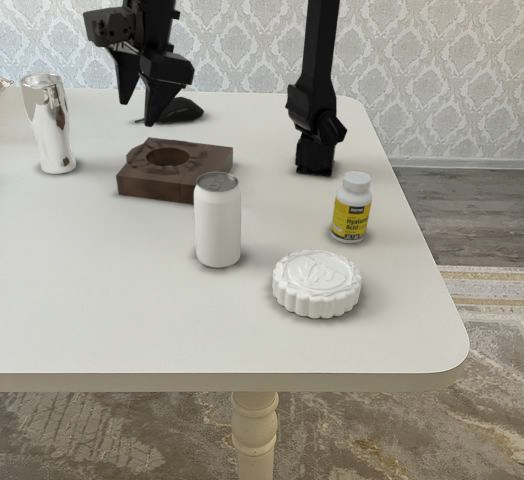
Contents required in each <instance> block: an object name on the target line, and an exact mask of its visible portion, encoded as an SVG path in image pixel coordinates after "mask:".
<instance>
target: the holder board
mask: <svg viewBox="0 0 524 480" xmlns="http://www.w3.org/2000/svg"><path fill="white" fill-rule="evenodd" d="M233 167H234V147H233V146H225V145H216V144H208V143H201V142H194V141H193V142H191V141H188V140H179V139H169V138H168V139H167V138H159V137H150V136H148V137H147V138H146V139H145V140H144V141H143V143H141V144H138V145H137V146H135V147H132V148H131V149H130V150H129V151H128V152H127V154H126V155H125V164H124V165H123V166H122V168H121V169H120V170H119V171H118V172H117V173H116V174H115V179H116V186H117V191H118V192H117V193H118V195H120V196H127V197H135V198H141V199H148V200H157V201H165V202H170V203H171V202H172V203H179V204H187V205H192V206H194V189H195V187H196V185H197V183H196V180H197V178H198V177H199V176H201V175H203V174H205V173H209V172H225V173H229V174H230V172H231V170H232V168H233Z"/></svg>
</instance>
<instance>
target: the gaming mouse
mask: <svg viewBox="0 0 524 480" xmlns="http://www.w3.org/2000/svg"><path fill="white" fill-rule="evenodd" d="M204 113H205V110H204V109H203V108H202V107H201V106H199V105H198V104H197V103H196V102H195V101H193V100H192V99H190V98H188V97H185V96H175V98H174V99H173V100H172V101H171V102H170V104H169V105H168V106H167V107H166V109H165V110H164V112H163V113H162V114H161V116H160V117H159V118H158V120H157V121H156V122H155V124H161V125H163V124H165V125H166V124H174V123H175V124H176V123H184V122H192V121H195V120H198V119H200V118H201V117H203V115H204ZM139 122H144V117H143V118H141V119H136V120H134V123H139Z"/></svg>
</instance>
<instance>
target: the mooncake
mask: <svg viewBox="0 0 524 480" xmlns="http://www.w3.org/2000/svg"><path fill="white" fill-rule="evenodd" d="M271 282H272V284H271V288H272V295H273V297H274V298H275V299H276V300H277V301H276V302H277V303H278V304H279V305H280V306H282V307H284V308H285V309H286V311H288V312H290V313H295V314H296V315H298V316H300V317H309V318H311V319H319V318H322V319H331V318H332V317H333V316H334V317H341V316H343V315H344V313H347V312H350V311H352V310H353V308H354V306H355V305H357V304H358V303H359V299H360V294H361V288H362V283H363V276H362V275H361V271H360V269H359V268H358V267H356V265H355V263H354V262H353V261H351V260H348V259H347V257H345V256H344V255H337V254H336V253H335V252H332V251H325V250H324V249H322V250H321V249H315V250H313V249H303V250H302V251H294V252H292V253H291V254H289V255H285V256H283V257H282V258H281V260H279V261H277V262H276V263H275V268H274V269H273V270H272V281H271Z"/></svg>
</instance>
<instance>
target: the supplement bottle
mask: <svg viewBox="0 0 524 480" xmlns="http://www.w3.org/2000/svg"><path fill="white" fill-rule="evenodd" d="M371 181H372V178H371V176H370V175H369V174H367V173H366V172H363V171H359V170H358V171H357V170H352V171H347V172H345V173H344V175H343V178H342V185H341V186H340V187H338V189H337V190H336V193H335V199H334V204H333V205H334V206H333V213H332V219H331V227H330V234H331V237H333V239H335V240H336V241H338V242H340V243H343V244H344V243H345V244H357V243H360V242H361V241H363V240H364V239H365V236H366V233H367V227H368V223H369V217H370V213H371V212H370V211H371V207H372V202H373V194H372V193H373V192H371V189H370V187H371Z"/></svg>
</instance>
